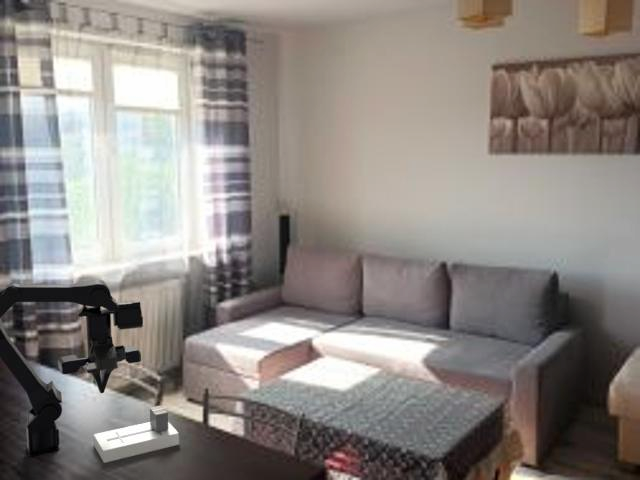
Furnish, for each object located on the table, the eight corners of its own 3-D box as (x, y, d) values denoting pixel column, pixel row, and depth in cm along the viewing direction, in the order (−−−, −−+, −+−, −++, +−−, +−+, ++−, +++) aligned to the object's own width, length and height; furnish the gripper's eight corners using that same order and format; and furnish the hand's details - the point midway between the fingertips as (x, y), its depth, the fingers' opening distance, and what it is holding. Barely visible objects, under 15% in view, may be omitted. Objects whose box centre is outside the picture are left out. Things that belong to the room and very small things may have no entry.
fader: (156, 432, 156) (155, 414, 156) (150, 424, 161) (149, 407, 160) (168, 429, 158) (168, 411, 157) (162, 422, 162) (161, 405, 162)
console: (103, 462, 148) (103, 450, 147) (94, 445, 156) (93, 433, 156) (178, 444, 157) (178, 432, 157) (165, 429, 166) (165, 417, 165)
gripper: (65, 346, 145) (68, 411, 147) (146, 334, 155) (148, 395, 157) (56, 334, 154) (59, 396, 156) (133, 323, 164) (135, 381, 166)
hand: (101, 392), depth 159 cm, fingers closed
